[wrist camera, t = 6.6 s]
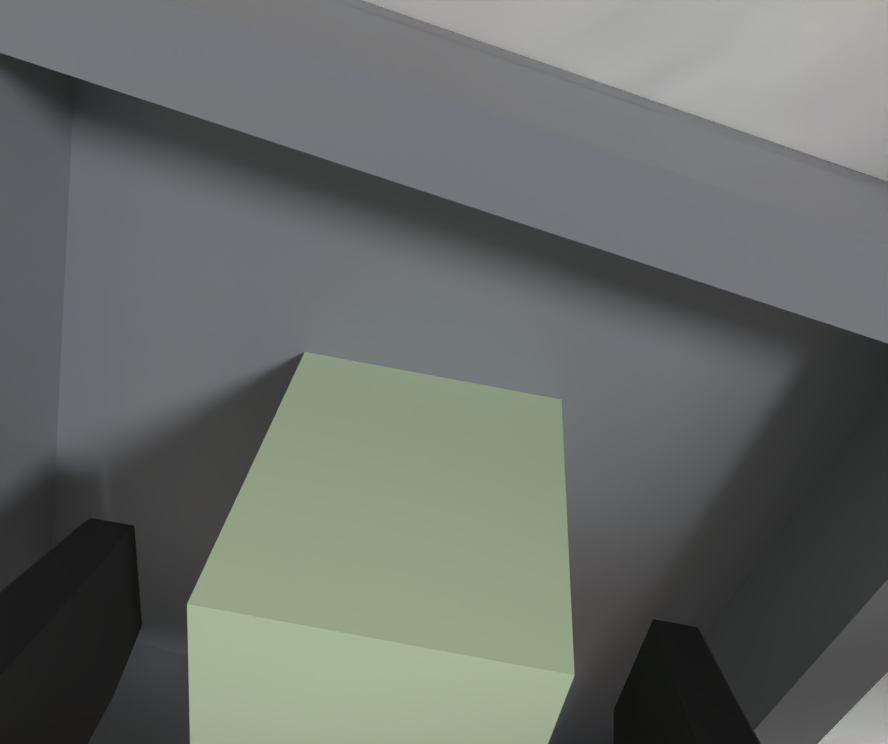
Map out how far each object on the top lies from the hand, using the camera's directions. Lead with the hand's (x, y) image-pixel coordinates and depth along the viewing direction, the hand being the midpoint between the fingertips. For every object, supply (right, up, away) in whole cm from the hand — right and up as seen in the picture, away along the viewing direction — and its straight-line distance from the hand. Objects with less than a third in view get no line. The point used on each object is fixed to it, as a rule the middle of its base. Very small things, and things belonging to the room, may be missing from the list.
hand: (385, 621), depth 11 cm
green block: (0, +2, +2) cm, 3 cm away
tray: (0, +2, +3) cm, 3 cm away
